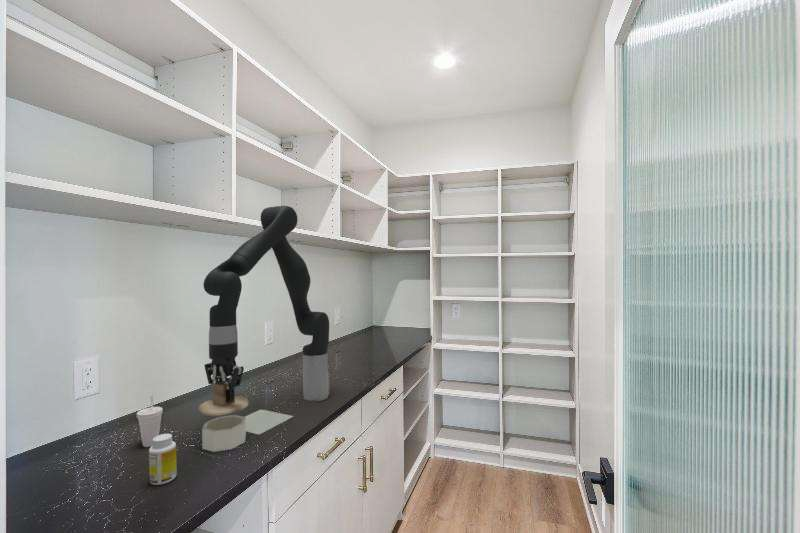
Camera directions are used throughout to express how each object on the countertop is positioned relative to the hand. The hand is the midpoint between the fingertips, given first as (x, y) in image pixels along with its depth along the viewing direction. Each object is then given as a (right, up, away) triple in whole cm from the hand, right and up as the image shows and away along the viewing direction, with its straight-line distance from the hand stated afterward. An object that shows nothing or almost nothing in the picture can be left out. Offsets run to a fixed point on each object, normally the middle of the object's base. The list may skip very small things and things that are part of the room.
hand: (224, 400), depth 109 cm
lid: (0, -2, 0) cm, 2 cm away
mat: (+5, -12, +14) cm, 20 cm away
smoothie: (-22, -13, +1) cm, 25 cm away
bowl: (0, -13, 0) cm, 13 cm away
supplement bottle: (-6, -13, -18) cm, 23 cm away
